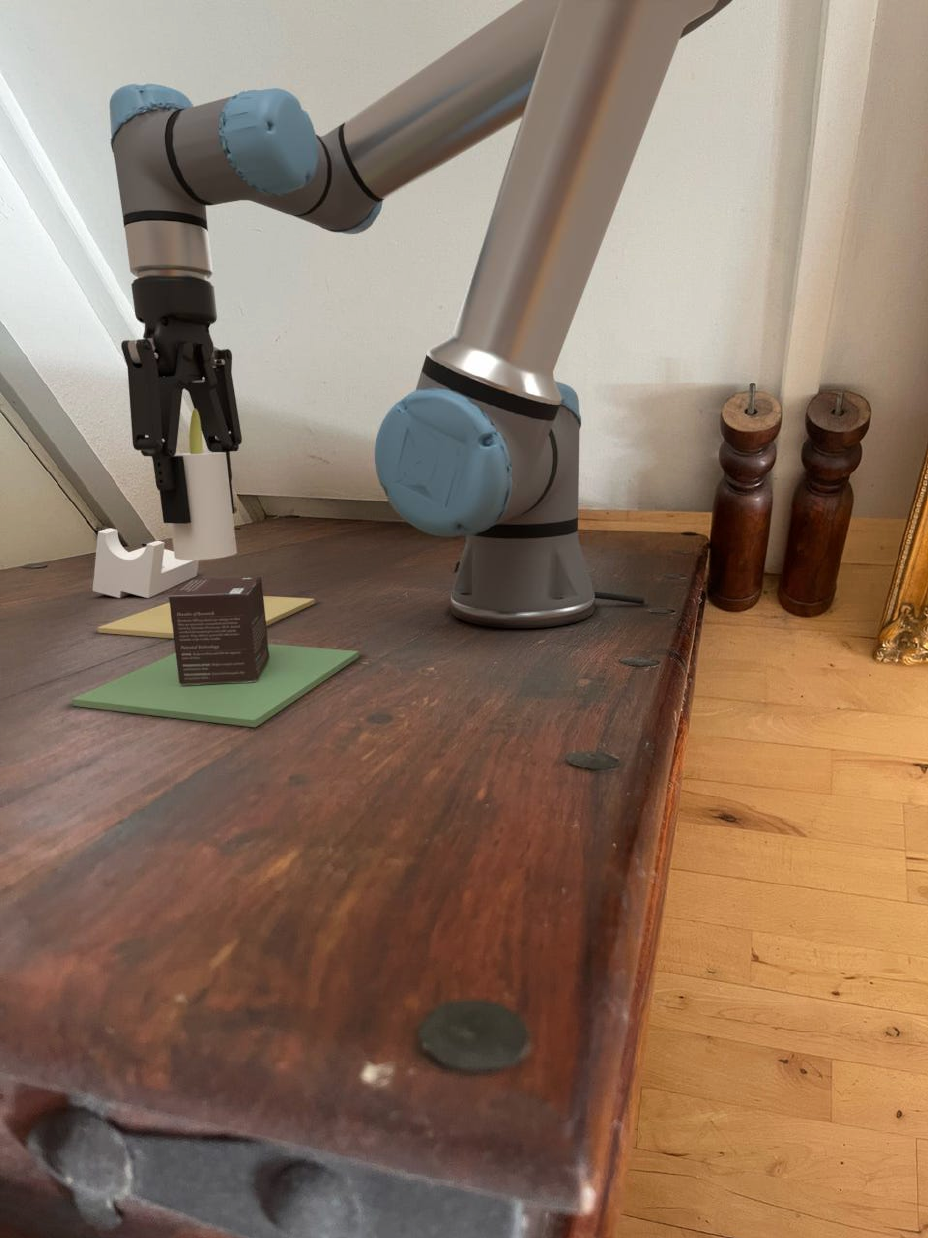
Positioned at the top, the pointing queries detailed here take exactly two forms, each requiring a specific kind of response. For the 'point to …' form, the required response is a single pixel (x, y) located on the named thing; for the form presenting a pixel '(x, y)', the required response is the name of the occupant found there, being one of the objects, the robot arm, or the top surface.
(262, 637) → the box
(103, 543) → the bracket
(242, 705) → the green mat
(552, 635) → the top surface
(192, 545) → the candle
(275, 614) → the cream mat
